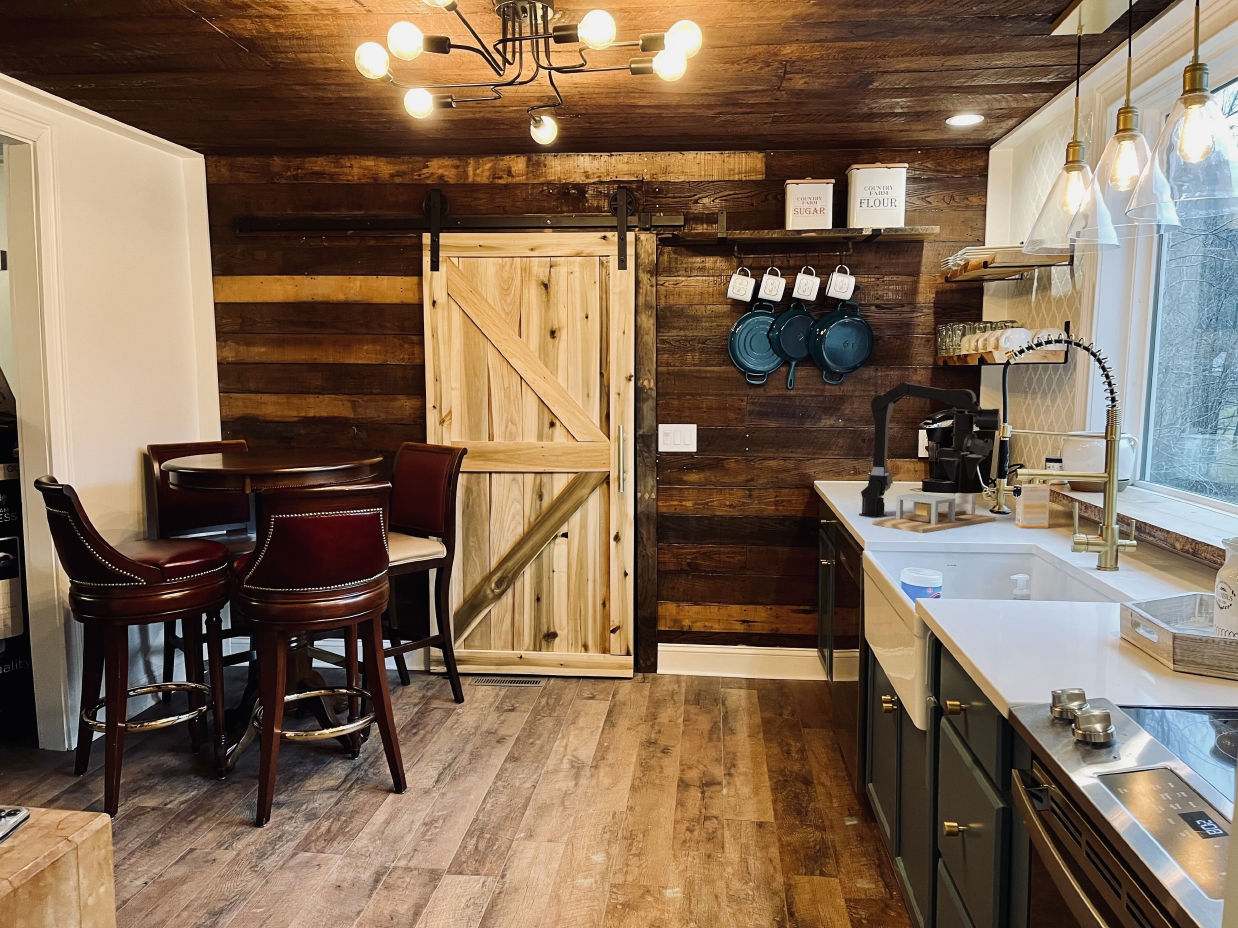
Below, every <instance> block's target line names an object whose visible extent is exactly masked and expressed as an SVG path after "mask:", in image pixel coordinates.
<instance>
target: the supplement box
mask: <svg viewBox="0 0 1238 928" xmlns="http://www.w3.org/2000/svg"><path fill="white" fill-rule="evenodd" d="M1021 484H1022V493H1021V495H1020V496H1018V497H1017V496H1016V497H1015V498H1016V502H1015V506H1016V507H1015V526H1016V527H1018V528H1020V529H1049V519H1050V496H1051V495H1050V494H1051V493H1050V491H1051V489H1050V488H1051V486H1050V485H1047V484H1046V483H1021Z"/></svg>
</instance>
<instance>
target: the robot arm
mask: <svg viewBox="0 0 1238 928" xmlns="http://www.w3.org/2000/svg"><path fill="white" fill-rule="evenodd" d="M906 396H911V397H916V398H923V399H927V400H934V401H939V402H944V403H946V404H948V405H951V406H953V407H952V408H951V410H950V411H948V412H947V414H946V415H948V416H953V432H951V433H950V437H952V438H953V439H952V441H953V443H952V444H953V445H950V446H949V448H946V447H943V448H938V449H937V450H936V451H935V452H936V454H935V455H936V456H935V457H936V458H938V461H940V462H941V464H942V466H943V467H944V470H945V471H946V473H947V476H948V478H949V480H950V482H955V480H956V474H957V465H958V463H959V462H960V461H961V460H962V459H960V457H961V456H964V461H965V467H966V471H967V476H968V479H969V480H973V479H974V477H975V474H976V471H977V469H978V466H979V465H980V463H981V462H982V461H983V460H986V458H987V457H988V456H990V454H989V453H990V451H993V449H994V447H993V446H994V442H993V439H990V438H985V439H984V440H983V439H979V438H978V434H977V433H974V429H975V428H978V430H979V431H983V432H985V431H988V432H990V431H991V432H999V431H1000V430H1001V425H1002V423H1001V422H1002V418H1001V414H1000V413H1001V412H1000V411H1001V410H1000V408H991V409H990V408H982V407H981V405H980V404H979V403H978V402H977V396H976V393H975V392H974V391H972V389H945V388H939V387H931V386H927V385H926V386H925V385H920V384H913V383H910V382H904V381H902V382H900V383H899V384H898V385H896V386H894V387H893V388H892V389H890V390H888V391H886V392H885V393H884V394H879V395H878V394H877V395H876V396H874V397H873V398H872V399H871V401H870V410H871V415H872V418H873V421H874V434H873V435H874V437H873V438H874V439H873V463H872V464H873V465H872V469H871V471H870V474H869V479H868V483H867V486H866V487H865V488H864V489H862V490H861V491H860V494H861V495H860V496H861V498H862V499H861V500H862V501H861V503H862V504H861V512H860V513H858V515H859V516H863V517H869V518H880V517H886V516H887V513H885V502H884V500H885V497H884V496H885V493H886V492H887V491H888V490H889V489H890V488H891V485H893V484H894V482H893V475H894V471H893V470H891V471H890V470H889V468H888V447H889V446H888V445H889V424H890V420H891V417H892V414H893V410H894V406H895V404H897V403H898V402H900V400H903V399H904V397H906ZM957 408H959V409H957ZM968 411H969V412H972V413H968ZM974 425H975V426H974ZM974 427H975V428H974Z"/></svg>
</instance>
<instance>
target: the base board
mask: <svg viewBox="0 0 1238 928" xmlns="http://www.w3.org/2000/svg"><path fill="white" fill-rule="evenodd" d="M938 512H939V513H944V512H948V509H943V510H938ZM996 520H997V519H996V516H991V515H983V514H978V513H975V514H967V513H965V514H958V515H955V522H948V516H947V519H945V520H939V521H938V525H932V524H931V522H925V521H918V520H912V519H906V518H904V515H903V519H896V516H895V517H889V518H881V519H875V520H872V521H871V525H873V526H879V527H885V528H890V529H895V530H903V531H908V532H914V533H918V534H919V533H920V534H924V533H930V532H935V531H942V530H947V529H948V530H949V529H954V528H960V527H961V528H962V527H965V526H972V525H977V524H985V523H990V522H996Z"/></svg>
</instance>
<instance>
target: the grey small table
mask: <svg viewBox="0 0 1238 928" xmlns="http://www.w3.org/2000/svg"><path fill="white" fill-rule="evenodd" d="M904 501H909V502H913V504H912V505H913V507H912V508H913V509H912V510H913V511H912V513H913V514H916V503H930V504H932V505H931V524H932V525H938V511H939V505H942V504H948V509H947V510H948V522H955V497H947V496H942V495H941V496H940V495H933V494H924V493H910V494H900V495H896V506H895V509H896V510H895V517H896V519H903V516H904V512H903V511H904Z"/></svg>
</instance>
